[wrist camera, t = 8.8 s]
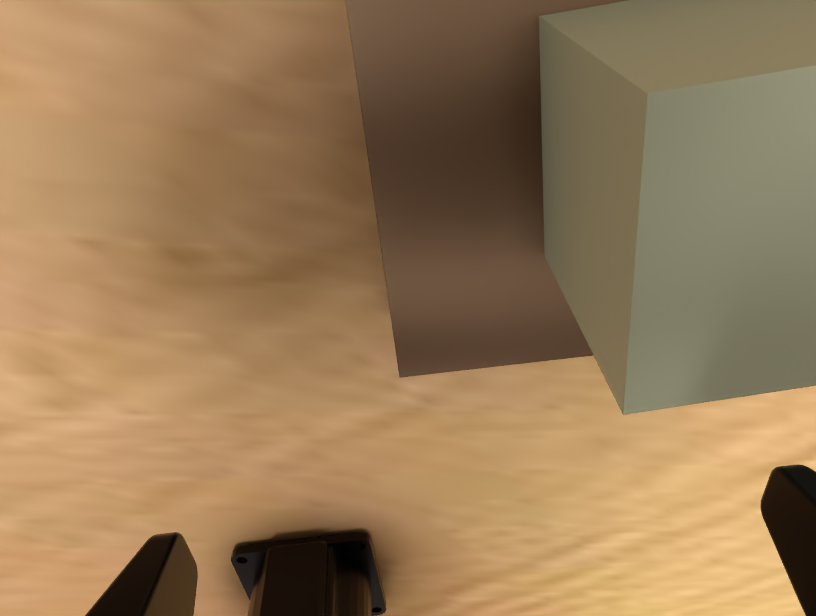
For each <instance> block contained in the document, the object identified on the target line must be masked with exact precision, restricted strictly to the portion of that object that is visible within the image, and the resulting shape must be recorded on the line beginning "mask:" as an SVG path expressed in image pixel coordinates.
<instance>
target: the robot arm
mask: <svg viewBox="0 0 816 616" xmlns="http://www.w3.org/2000/svg"><path fill="white" fill-rule="evenodd" d="M761 512H762V516H763V519H764V521H765V523H766V526H767V528H768V530H769V533H770V535H771V537H772V540H773V542H774V544H775V547H776V549H777V551H778V553H779V556H780V558H781V560H782V563H783V565H784V567H785V570H786V572H787V574H788V577H789V579H790V581H791V584H792V586H793V588H794V591H795V593H796V595H797V597H798V600H799V602H800V604H801V606H802V608H803V610H804V613H805V615H806V616H816V472H815V471H814V470H812V469H810V468H809V467H806V466H804V465H789V466H780V467H776V468H775V469H773V470H772V472H771V474H770V477H769V480H768V482H767V485H766V488H765V491H764V493H763V496H762V499H761ZM231 562H232V564H233V566H234V568H235V570H236V572H237V574H238V576H239V579H240V581H241V583H242V585H243V587H244V589H245V591H246V593H247V595H248V597H249V599H250V605H249V611H248V616H374V615H380V614H383V613H384V612H385V611H386V599H385V595H384V591H383V587H382V583H381V579H380V575H379V570H378V566H377V562H376V558H375V554H374V550H373V546H372V541H371V538H370V536H369V535H368V534H366V533H363V532H358V533H349V534H341V535H332V536H324V537H315V538H307V539H298V540H290V541H281V542H273V543H264V544H256V545H247V546H240V547H236V548H235V549H234V550H233V552H232V557H231ZM197 577H198V572H197V566H196V562H195V560H194V558H193V556H192V554H191V552H190V550H189V548H188V546H187V543H186V541H185V539H184V537H183V536H182V535H181V534H180V533H177V532H174V533H165V534H157V535H154V536H152V537H151V538H149V539H148V540H147V541H146V543H145V544H144V545H143V546H142V547H141V549H140V550H139V551H138V552H137V553H136V555H135V556H134V557H133V558H132V560H131V561H130V562H129V563H128V564H127V566H126V567H125V568H124V569H123V570H122V572H121V573H120V574H119V575H118V576H117V578H116V579H115V580H114V581H113V583H112V584H111V585H110V586H109V587H108V589H107V590H106V591H105V592H104V593H103V595H102V596H101V597H100V598H99V599H98V601H97V602H96V603H95V604H94V605H93V607H92V608H91V609H90V610H89V612H88V613H87V614H86V615H85V616H193V614H194V605H195V596H196V587H197Z"/></svg>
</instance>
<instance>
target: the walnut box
mask: <svg viewBox="0 0 816 616" xmlns="http://www.w3.org/2000/svg"><path fill="white" fill-rule="evenodd" d="M622 1H627V0H346V7H347V14H348V21H349V28H350V35H351V42H352V49H353V55H354V62H355V69H356V76H357V83H358V90H359V97H360V104H361V111H362V118H363V125H364V132H365V139H366V146H367V153H368V160H369V167H370V174H371V181H372V188H373V195H374V202H375V209H376V216H377V223H378V230H379V237H380V244H381V251H382V258H383V265H384V272H385V279H386V286H387V293H388V300H389V307H390V314H391V321H392V328H393V335H394V342H395V349H396V356H397V363H398V370H399V376H400V377H408V376H417V375H425V374H434V373H443V372H452V371H460V370H469V369H478V368H487V367H495V366H504V365H513V364H521V363H530V362H539V361H548V360H556V359H565V358H574V357H583V356H591V355H593V353H592V351H591V349H590V347H589V345H588V343H587V341H586V339H585V337H584V335H583V333H582V331H581V329H580V327H579V325H578V323H577V321H576V319H575V317H574V315H573V313H572V311H571V309H570V307H569V305H568V303H567V301H566V298H565V296H564V294H563V292H562V290H561V288H560V286H559V284H558V282H557V280H556V278H555V276H554V274H553V272H552V270H551V268H550V266H549V264H548V262H547V260H546V258H545V252H544V209H543V167H542V125H541V83H540V41H539V16H542V15H548V14H553V13H559V12H565V11H570V10H576V9H582V8H587V7H593V6H599V5H605V4H610V3H616V2H622Z"/></svg>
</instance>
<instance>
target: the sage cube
mask: <svg viewBox="0 0 816 616" xmlns="http://www.w3.org/2000/svg"><path fill="white" fill-rule="evenodd" d="M539 41H540V83H541V125H542V167H543V209H544V252H545V258H546V260H547V262H548V264H549V266H550V268H551V270H552V272H553V274H554V276H555V278H556V280H557V282H558V284H559V286H560V288H561V290H562V292H563V294H564V296H565V298H566V301H567V303H568V305H569V307H570V309H571V311H572V313H573V315H574V317H575V319H576V321H577V323H578V325H579V327H580V329H581V331H582V333H583V335H584V337H585V339H586V341H587V343H588V345H589V347H590V349H591V351H592V353H593V355H594V357H595V359H596V361H597V363H598V365H599V367H600V369H601V371H602V373H603V375H604V377H605V379H606V381H607V383H608V385H609V387H610V389H611V391H612V393H613V395H614V397H615V399H616V401H617V403H618V405H619V407H620V409H621V411H622V413H623V415H625V414H631V413H638V412H644V411H651V410H657V409H664V408H671V407H677V406H684V405H690V404H697V403H704V402H710V401H717V400H723V399H730V398H737V397H743V396H750V395H756V394H763V393H770V392H776V391H783V390H789V389H796V388H803V387H809V386H816V0H627V1H622V2H616V3H610V4H605V5H599V6H593V7H587V8H582V9H576V10H570V11H565V12H559V13H553V14H548V15H542V16H539Z"/></svg>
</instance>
